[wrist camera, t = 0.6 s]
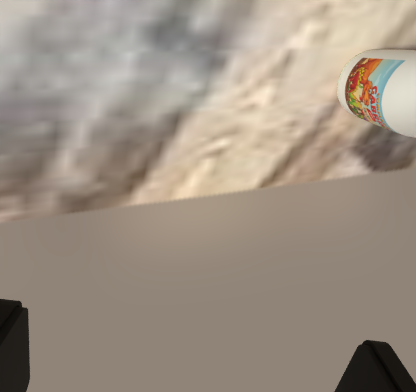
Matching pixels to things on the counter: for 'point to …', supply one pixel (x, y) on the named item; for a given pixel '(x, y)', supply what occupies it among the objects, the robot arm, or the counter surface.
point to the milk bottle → (381, 89)
